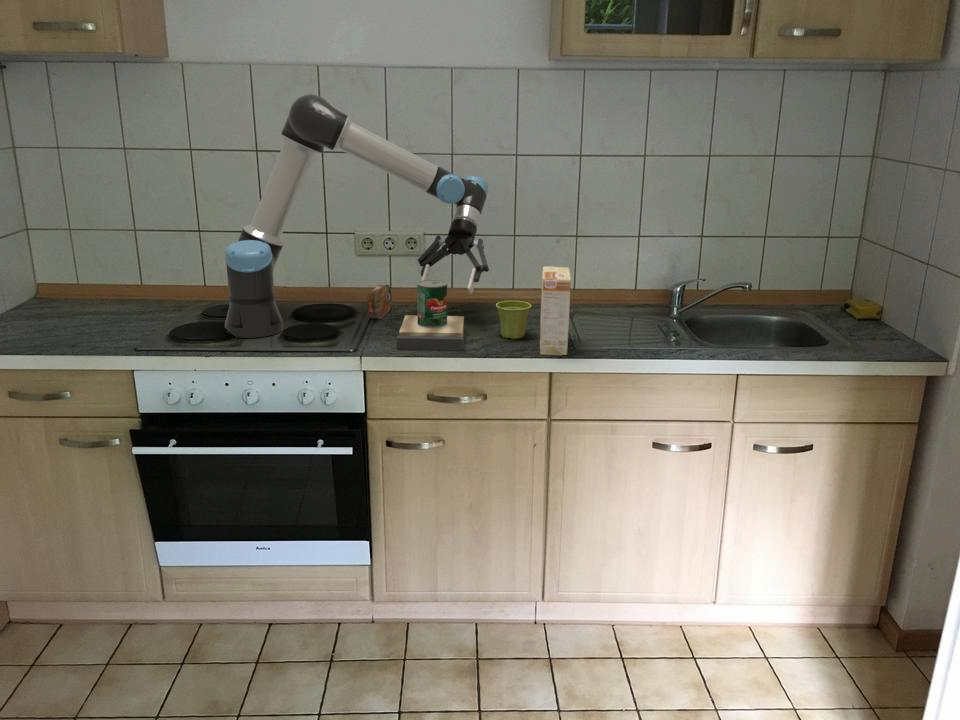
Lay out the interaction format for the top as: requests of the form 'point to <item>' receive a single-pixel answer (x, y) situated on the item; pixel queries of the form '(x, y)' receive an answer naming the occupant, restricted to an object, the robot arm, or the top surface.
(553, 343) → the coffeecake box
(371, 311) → the orange brown packet
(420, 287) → the canned tomato
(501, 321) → the plant pot
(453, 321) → the block
